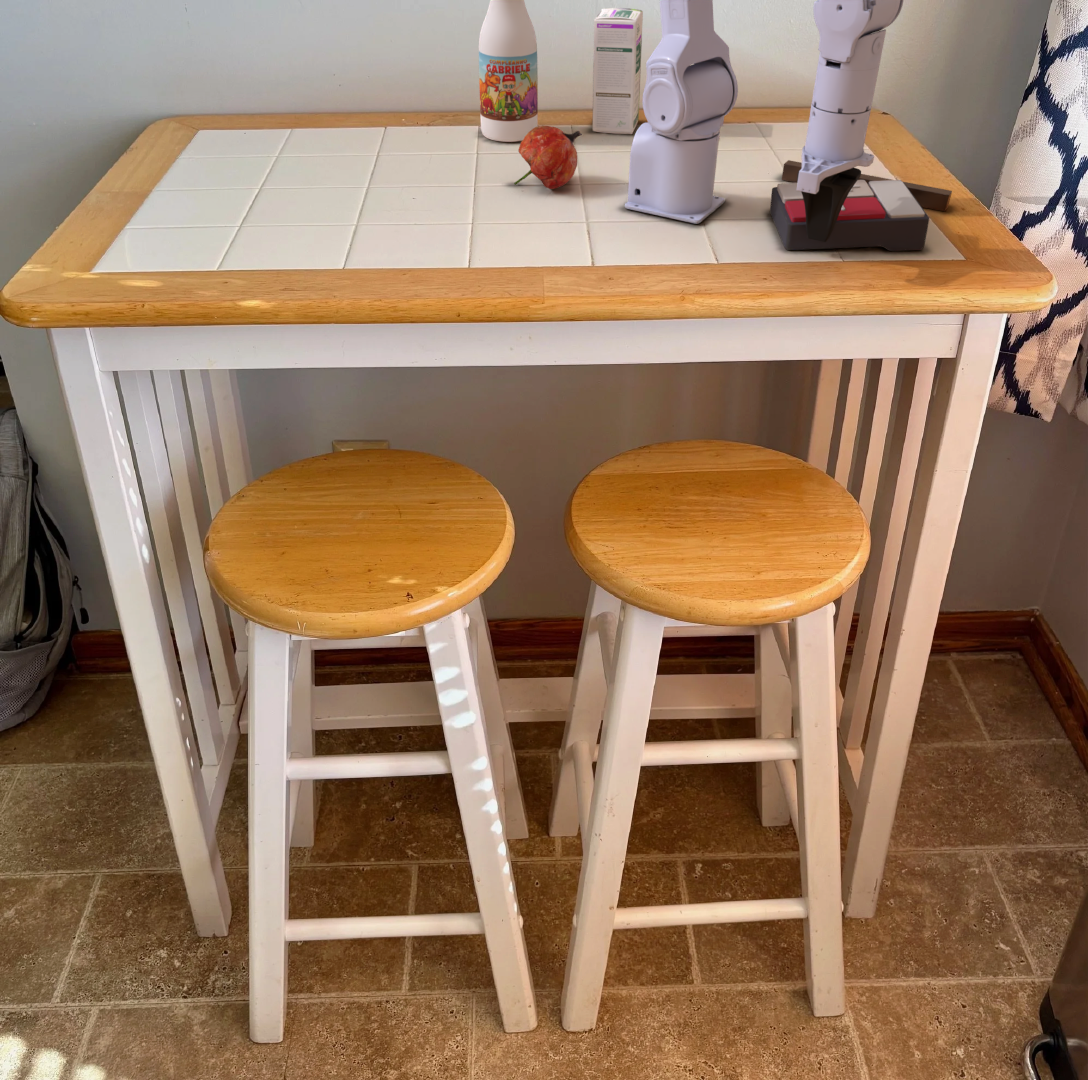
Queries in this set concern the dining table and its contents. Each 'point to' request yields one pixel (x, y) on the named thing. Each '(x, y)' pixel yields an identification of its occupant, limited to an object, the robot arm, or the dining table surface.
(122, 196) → the dining table surface
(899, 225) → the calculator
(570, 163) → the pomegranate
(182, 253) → the dining table surface
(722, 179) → the dining table surface
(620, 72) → the syrup box
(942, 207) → the bar
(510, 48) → the milk bottle
